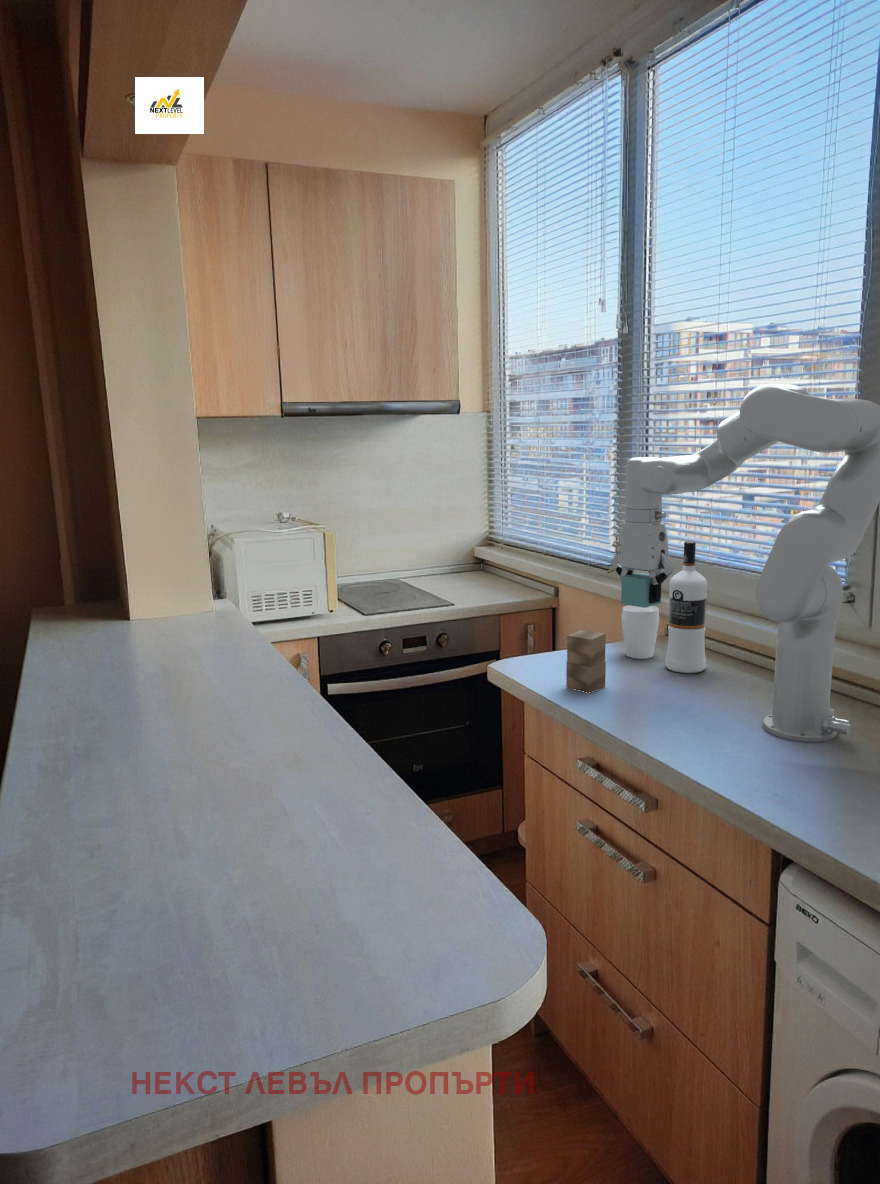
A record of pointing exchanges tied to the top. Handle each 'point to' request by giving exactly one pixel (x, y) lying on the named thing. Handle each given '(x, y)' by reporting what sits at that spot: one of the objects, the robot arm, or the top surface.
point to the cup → (640, 630)
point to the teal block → (636, 590)
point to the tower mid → (586, 648)
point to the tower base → (585, 676)
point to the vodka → (687, 617)
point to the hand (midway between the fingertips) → (641, 599)
